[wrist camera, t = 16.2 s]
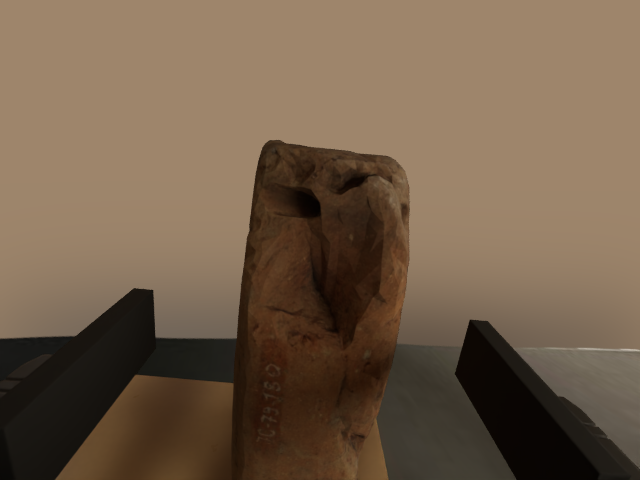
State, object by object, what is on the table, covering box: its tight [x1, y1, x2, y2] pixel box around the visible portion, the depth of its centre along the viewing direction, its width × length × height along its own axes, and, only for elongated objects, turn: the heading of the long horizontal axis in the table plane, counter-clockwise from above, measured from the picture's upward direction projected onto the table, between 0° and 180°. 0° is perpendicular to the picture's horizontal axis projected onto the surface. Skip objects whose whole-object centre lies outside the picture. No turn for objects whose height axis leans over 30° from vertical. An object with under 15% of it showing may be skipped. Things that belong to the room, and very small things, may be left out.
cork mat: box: [55, 375, 388, 480], centre depth 21 cm, size 20×14×1 cm
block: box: [231, 140, 410, 480], centre depth 18 cm, size 11×8×20 cm
